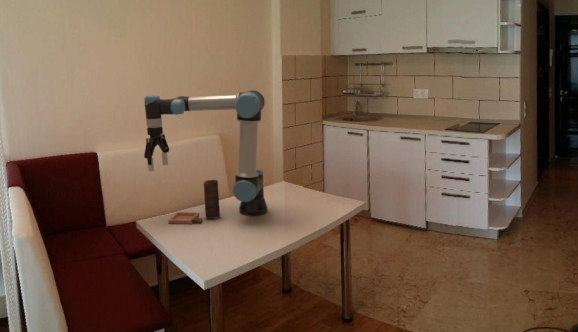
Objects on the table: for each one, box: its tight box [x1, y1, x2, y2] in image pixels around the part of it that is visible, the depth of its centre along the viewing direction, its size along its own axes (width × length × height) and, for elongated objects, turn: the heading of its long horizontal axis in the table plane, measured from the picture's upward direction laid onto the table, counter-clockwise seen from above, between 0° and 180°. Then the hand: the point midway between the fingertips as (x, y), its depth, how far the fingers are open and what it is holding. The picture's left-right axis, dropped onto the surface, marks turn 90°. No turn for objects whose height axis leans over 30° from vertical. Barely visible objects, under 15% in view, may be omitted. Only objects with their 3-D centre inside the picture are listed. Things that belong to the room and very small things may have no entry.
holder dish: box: [167, 211, 200, 225], centre depth 266 cm, size 12×13×2 cm
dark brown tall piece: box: [203, 179, 221, 219], centre depth 266 cm, size 8×7×20 cm
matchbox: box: [191, 217, 203, 225], centre depth 261 cm, size 5×3×2 cm, turn 82°
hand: (158, 167), depth 265 cm, fingers open, 13 cm apart
